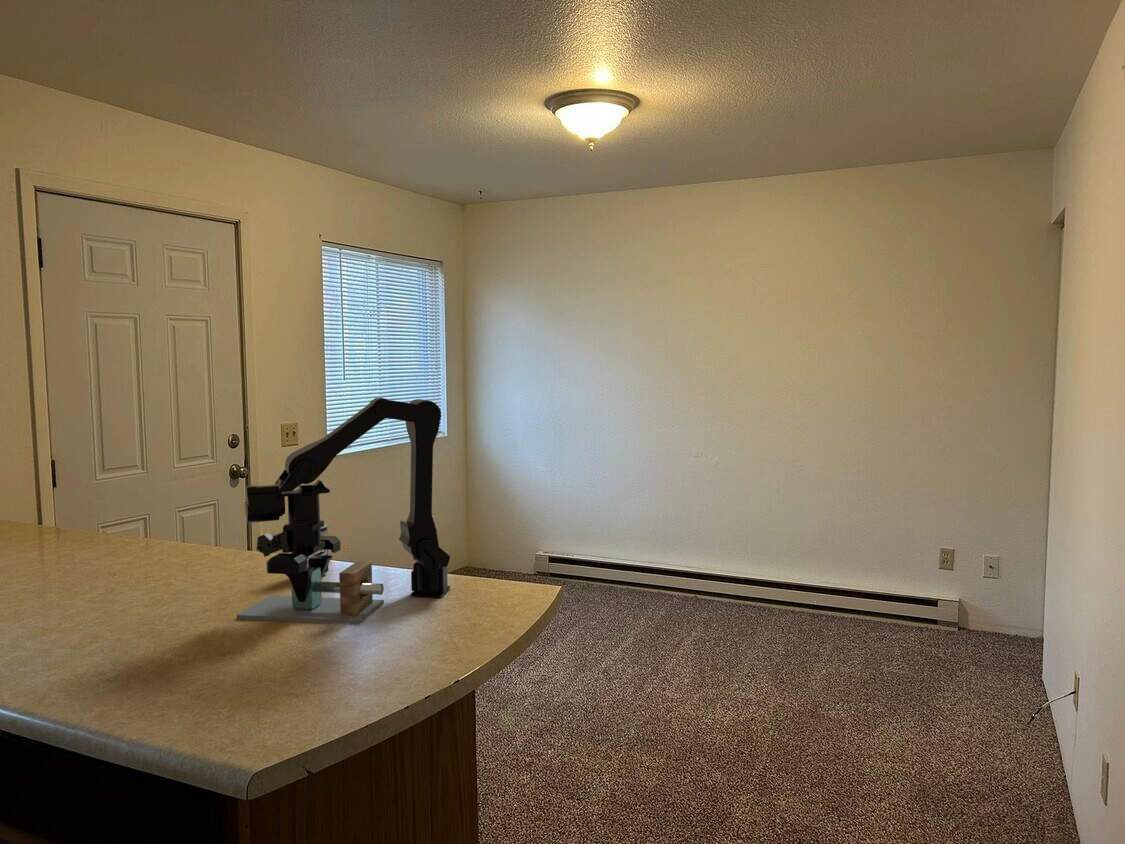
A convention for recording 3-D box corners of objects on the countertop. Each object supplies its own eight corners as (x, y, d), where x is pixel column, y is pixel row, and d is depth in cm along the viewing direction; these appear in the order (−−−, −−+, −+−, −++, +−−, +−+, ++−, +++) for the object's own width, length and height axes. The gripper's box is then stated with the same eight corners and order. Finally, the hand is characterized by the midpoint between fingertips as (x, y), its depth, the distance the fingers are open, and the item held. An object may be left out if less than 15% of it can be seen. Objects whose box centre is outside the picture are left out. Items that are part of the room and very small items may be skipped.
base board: (384, 603, 154) (383, 599, 154) (359, 624, 142) (359, 620, 142) (269, 599, 157) (269, 595, 157) (236, 619, 145) (236, 614, 145)
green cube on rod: (386, 605, 149) (385, 569, 149) (378, 611, 146) (377, 574, 145) (302, 601, 152) (301, 566, 151) (292, 608, 148) (291, 572, 147)
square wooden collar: (372, 602, 152) (371, 562, 151) (356, 616, 144) (354, 573, 143) (358, 602, 152) (356, 561, 152) (340, 615, 144) (339, 573, 144)
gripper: (288, 507, 159) (291, 582, 160) (237, 527, 140) (241, 612, 141) (340, 508, 157) (342, 584, 158) (295, 528, 139) (299, 614, 140)
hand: (307, 598), depth 150 cm, fingers closed on green cube on rod, 4 cm apart
